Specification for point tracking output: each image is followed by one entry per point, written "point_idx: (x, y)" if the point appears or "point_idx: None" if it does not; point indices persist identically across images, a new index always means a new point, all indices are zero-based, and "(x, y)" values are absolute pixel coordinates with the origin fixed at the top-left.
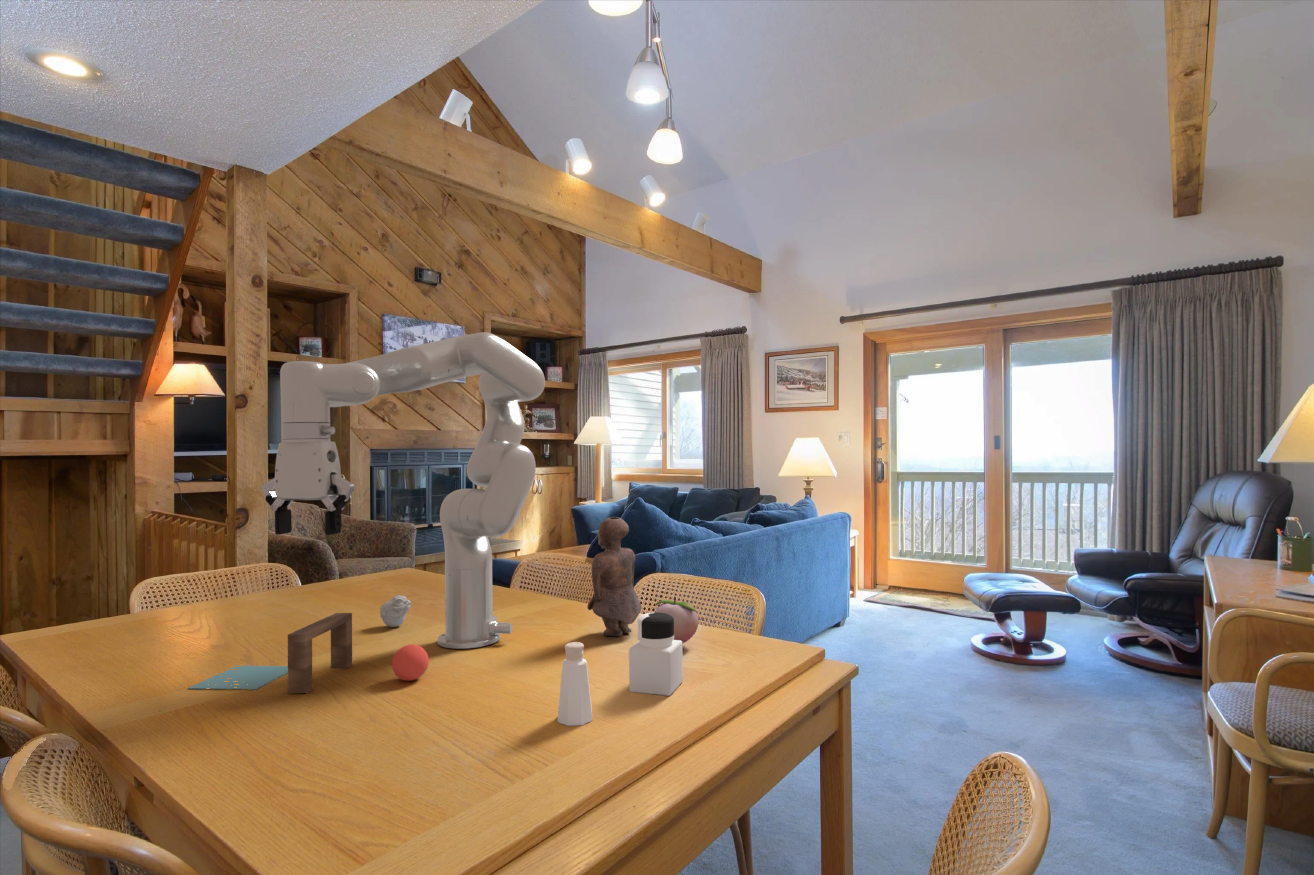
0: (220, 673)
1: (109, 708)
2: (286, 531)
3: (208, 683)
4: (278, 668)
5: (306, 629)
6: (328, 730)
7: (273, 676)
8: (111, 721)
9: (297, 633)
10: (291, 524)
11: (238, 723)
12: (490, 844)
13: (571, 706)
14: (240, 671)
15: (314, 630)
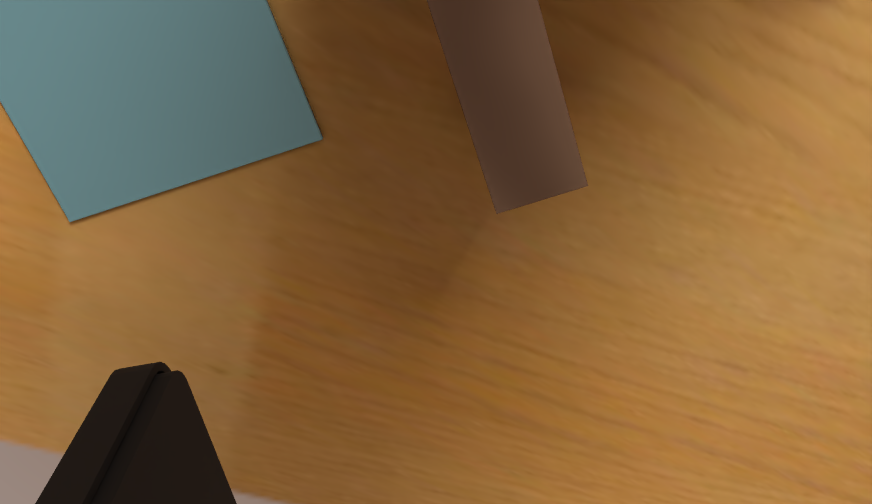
0: None
1: (50, 408)
2: (205, 452)
3: (82, 163)
4: None
5: (504, 105)
6: (868, 297)
7: (238, 3)
8: None
9: (528, 182)
10: (144, 429)
11: (554, 351)
12: None
13: None
14: (30, 8)
15: (565, 104)
